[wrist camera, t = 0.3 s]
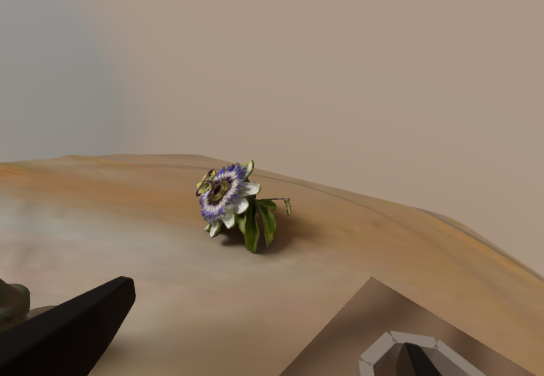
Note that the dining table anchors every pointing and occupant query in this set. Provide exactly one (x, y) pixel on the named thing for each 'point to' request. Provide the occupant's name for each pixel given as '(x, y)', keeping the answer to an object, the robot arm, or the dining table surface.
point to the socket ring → (447, 361)
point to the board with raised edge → (384, 318)
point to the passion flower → (237, 204)
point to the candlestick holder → (16, 305)
